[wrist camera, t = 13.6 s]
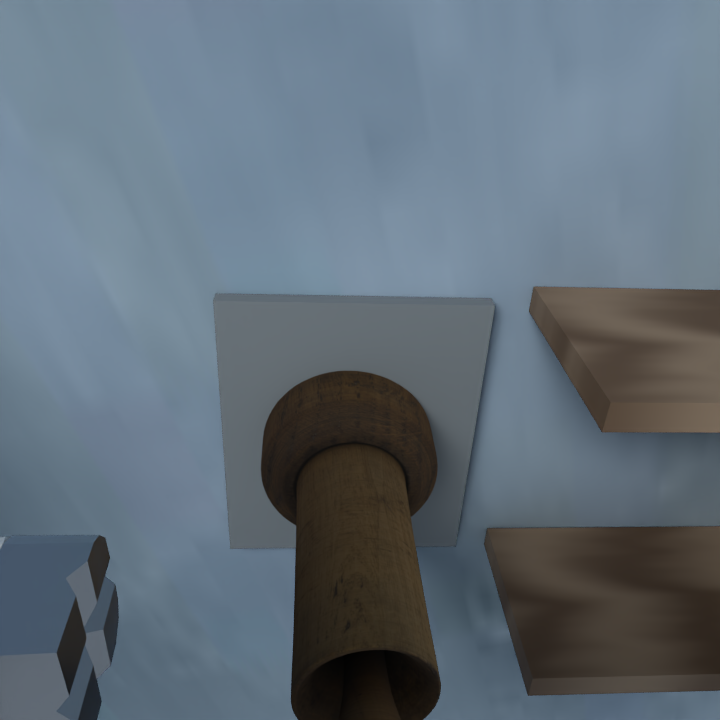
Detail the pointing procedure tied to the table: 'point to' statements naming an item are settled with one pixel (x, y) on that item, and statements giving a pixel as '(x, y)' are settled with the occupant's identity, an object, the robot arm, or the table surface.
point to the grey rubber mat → (347, 353)
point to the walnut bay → (621, 544)
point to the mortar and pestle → (355, 544)
